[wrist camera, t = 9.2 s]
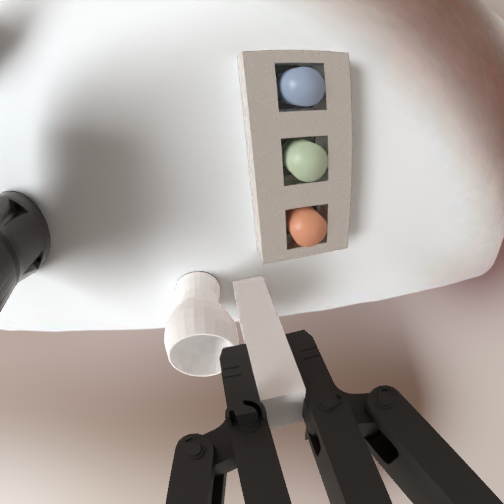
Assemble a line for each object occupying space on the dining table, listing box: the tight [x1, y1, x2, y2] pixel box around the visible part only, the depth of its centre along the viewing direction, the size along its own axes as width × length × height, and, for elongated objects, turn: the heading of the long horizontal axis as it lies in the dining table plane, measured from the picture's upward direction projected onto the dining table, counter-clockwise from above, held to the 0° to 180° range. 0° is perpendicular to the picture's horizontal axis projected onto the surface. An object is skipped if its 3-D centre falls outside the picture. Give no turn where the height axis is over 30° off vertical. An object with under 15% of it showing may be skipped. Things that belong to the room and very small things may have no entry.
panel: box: [237, 50, 352, 264], centre depth 38 cm, size 14×30×4 cm, turn 6°
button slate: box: [276, 67, 325, 106], centre depth 32 cm, size 5×5×5 cm
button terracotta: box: [285, 206, 327, 247], centre depth 43 cm, size 5×5×5 cm
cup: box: [164, 272, 239, 377], centre depth 43 cm, size 11×11×15 cm
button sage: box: [282, 137, 328, 182], centre depth 38 cm, size 5×5×5 cm
